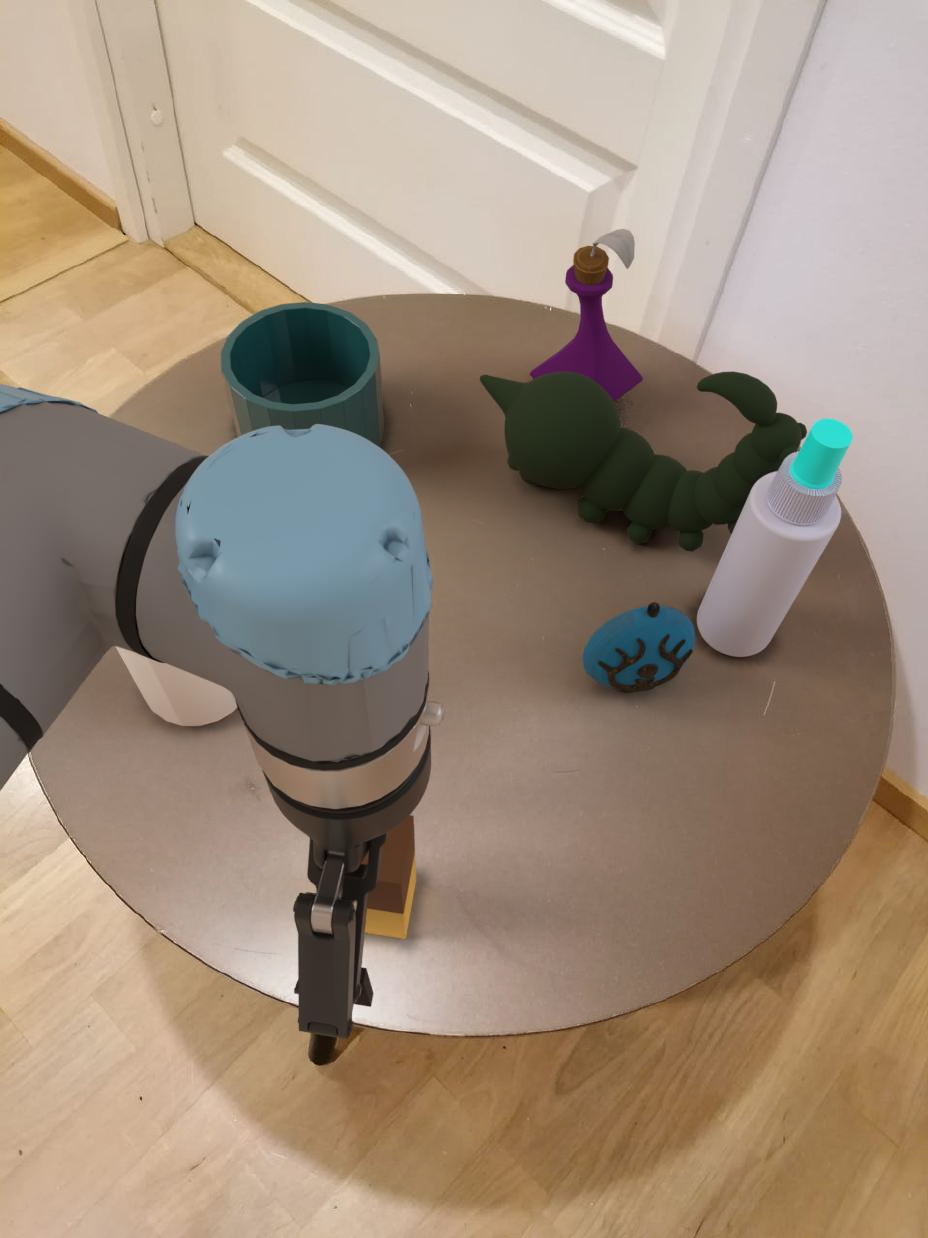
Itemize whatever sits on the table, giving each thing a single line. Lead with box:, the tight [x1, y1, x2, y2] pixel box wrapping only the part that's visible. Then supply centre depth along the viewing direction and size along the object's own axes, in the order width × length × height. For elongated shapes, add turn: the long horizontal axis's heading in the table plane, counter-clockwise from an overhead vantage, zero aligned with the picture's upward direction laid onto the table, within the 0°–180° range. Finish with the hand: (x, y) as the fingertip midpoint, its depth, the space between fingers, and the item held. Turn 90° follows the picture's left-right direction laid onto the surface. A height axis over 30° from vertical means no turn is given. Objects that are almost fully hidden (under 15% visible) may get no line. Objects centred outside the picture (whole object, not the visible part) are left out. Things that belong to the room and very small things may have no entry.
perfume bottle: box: [529, 228, 644, 403], centre depth 80 cm, size 8×8×18 cm
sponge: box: [361, 814, 417, 940], centre depth 57 cm, size 4×5×12 cm
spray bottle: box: [696, 418, 853, 658], centre depth 66 cm, size 6×6×22 cm
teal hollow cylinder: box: [220, 301, 385, 448], centre depth 81 cm, size 13×13×9 cm
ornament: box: [582, 601, 696, 694], centre depth 68 cm, size 8×5×10 cm, turn 100°
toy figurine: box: [479, 371, 808, 553], centre depth 74 cm, size 9×19×25 cm
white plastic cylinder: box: [114, 646, 238, 727], centre depth 63 cm, size 8×8×18 cm
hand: (372, 882), depth 58 cm, fingers open, 13 cm apart
